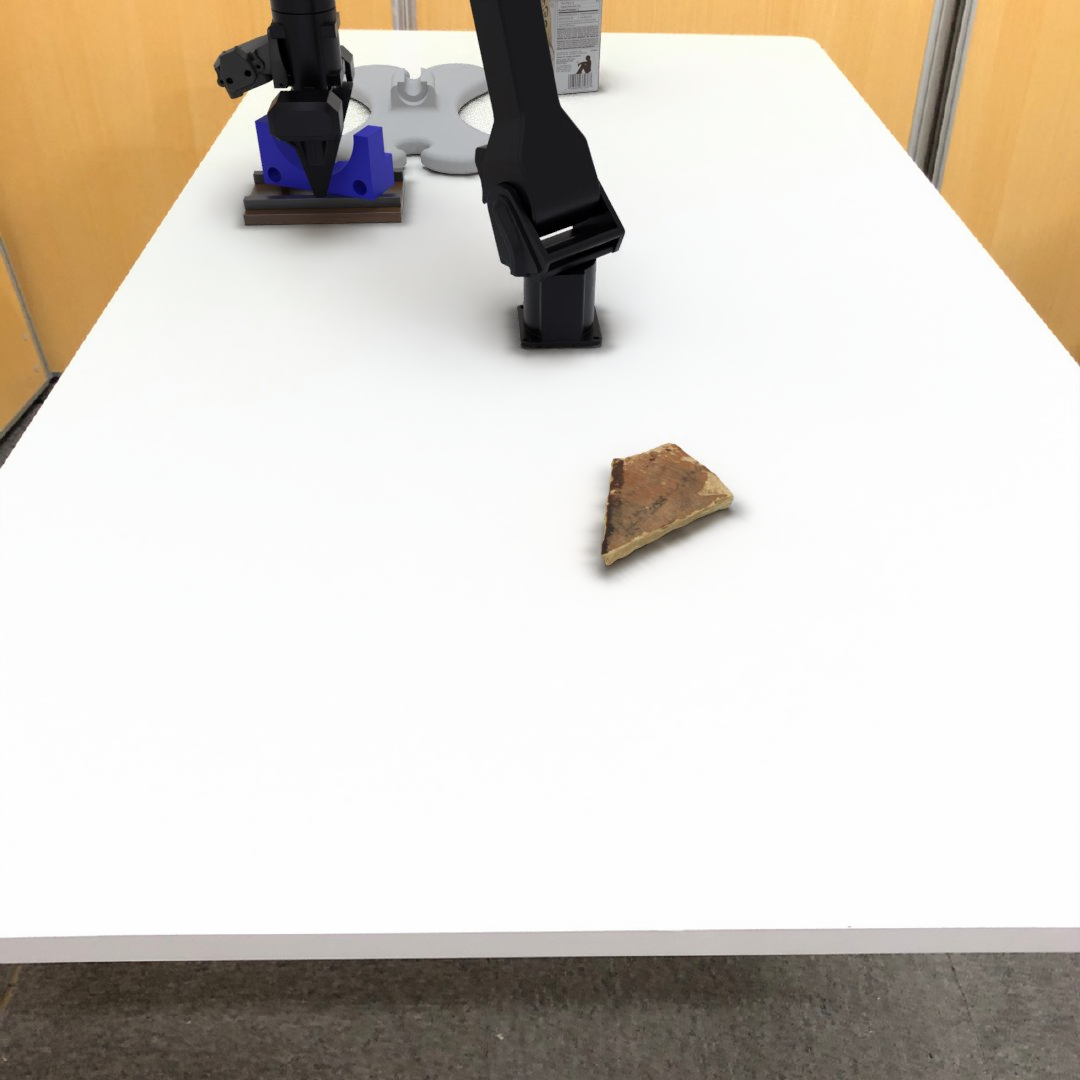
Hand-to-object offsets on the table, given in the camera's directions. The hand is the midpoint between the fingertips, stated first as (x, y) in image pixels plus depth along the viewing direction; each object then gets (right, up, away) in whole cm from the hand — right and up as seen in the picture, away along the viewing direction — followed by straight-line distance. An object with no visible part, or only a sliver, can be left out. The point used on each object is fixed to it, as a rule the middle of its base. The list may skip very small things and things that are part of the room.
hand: (324, 179), depth 104 cm
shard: (+29, -34, -37) cm, 58 cm away
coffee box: (+24, +23, +32) cm, 47 cm away
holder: (+7, +13, +20) cm, 25 cm away
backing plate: (0, -2, +2) cm, 2 cm away
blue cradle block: (0, 0, 0) cm, 1 cm away
